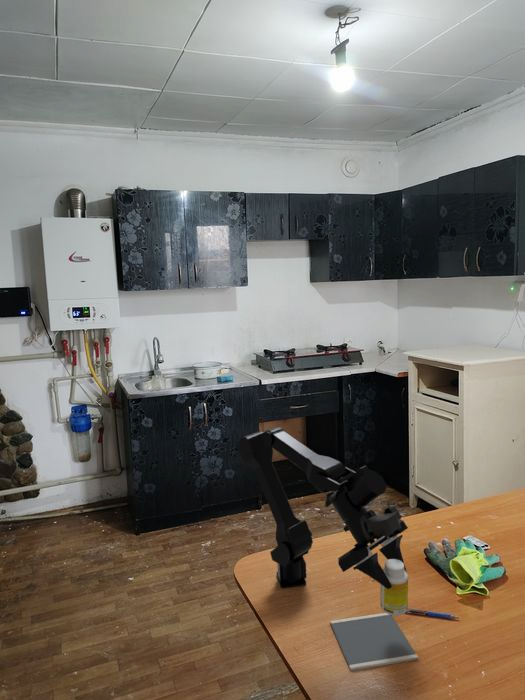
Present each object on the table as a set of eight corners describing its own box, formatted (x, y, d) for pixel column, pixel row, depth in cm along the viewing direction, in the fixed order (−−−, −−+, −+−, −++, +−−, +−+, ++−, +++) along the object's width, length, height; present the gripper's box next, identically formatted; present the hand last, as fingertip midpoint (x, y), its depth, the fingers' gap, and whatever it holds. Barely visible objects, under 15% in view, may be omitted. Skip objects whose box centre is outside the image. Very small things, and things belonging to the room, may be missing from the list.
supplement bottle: (412, 614, 108) (413, 569, 106) (388, 619, 107) (388, 574, 105) (399, 597, 113) (399, 554, 112) (375, 602, 112) (375, 559, 110)
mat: (350, 670, 102) (350, 668, 102) (330, 623, 116) (330, 621, 116) (417, 659, 104) (418, 657, 104) (390, 614, 118) (390, 612, 118)
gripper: (349, 514, 103) (398, 589, 97) (401, 484, 115) (446, 548, 110) (319, 536, 110) (362, 607, 104) (370, 506, 122) (411, 567, 117)
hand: (397, 581), depth 108 cm, fingers closed on supplement bottle, 5 cm apart
